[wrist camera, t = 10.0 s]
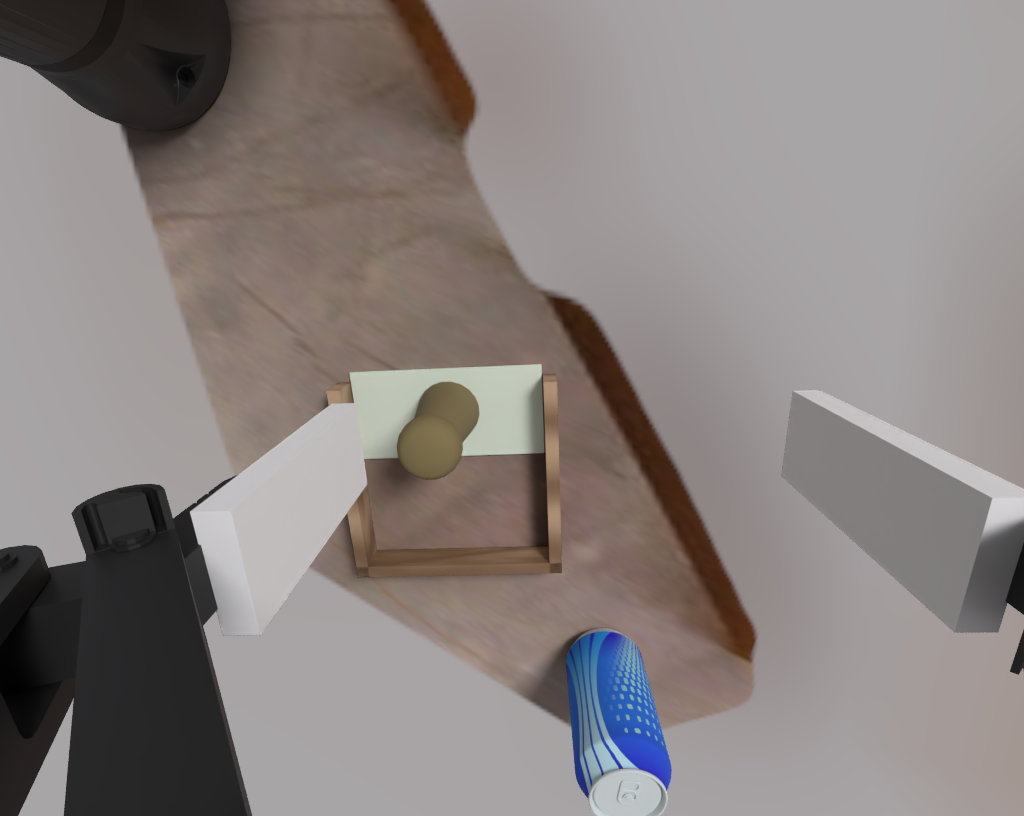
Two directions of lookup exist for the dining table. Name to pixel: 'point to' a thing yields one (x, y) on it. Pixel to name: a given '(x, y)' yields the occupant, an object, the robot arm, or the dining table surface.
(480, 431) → the front pad
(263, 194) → the dining table surface
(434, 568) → the bay
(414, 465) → the olive chess pawn
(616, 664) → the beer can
